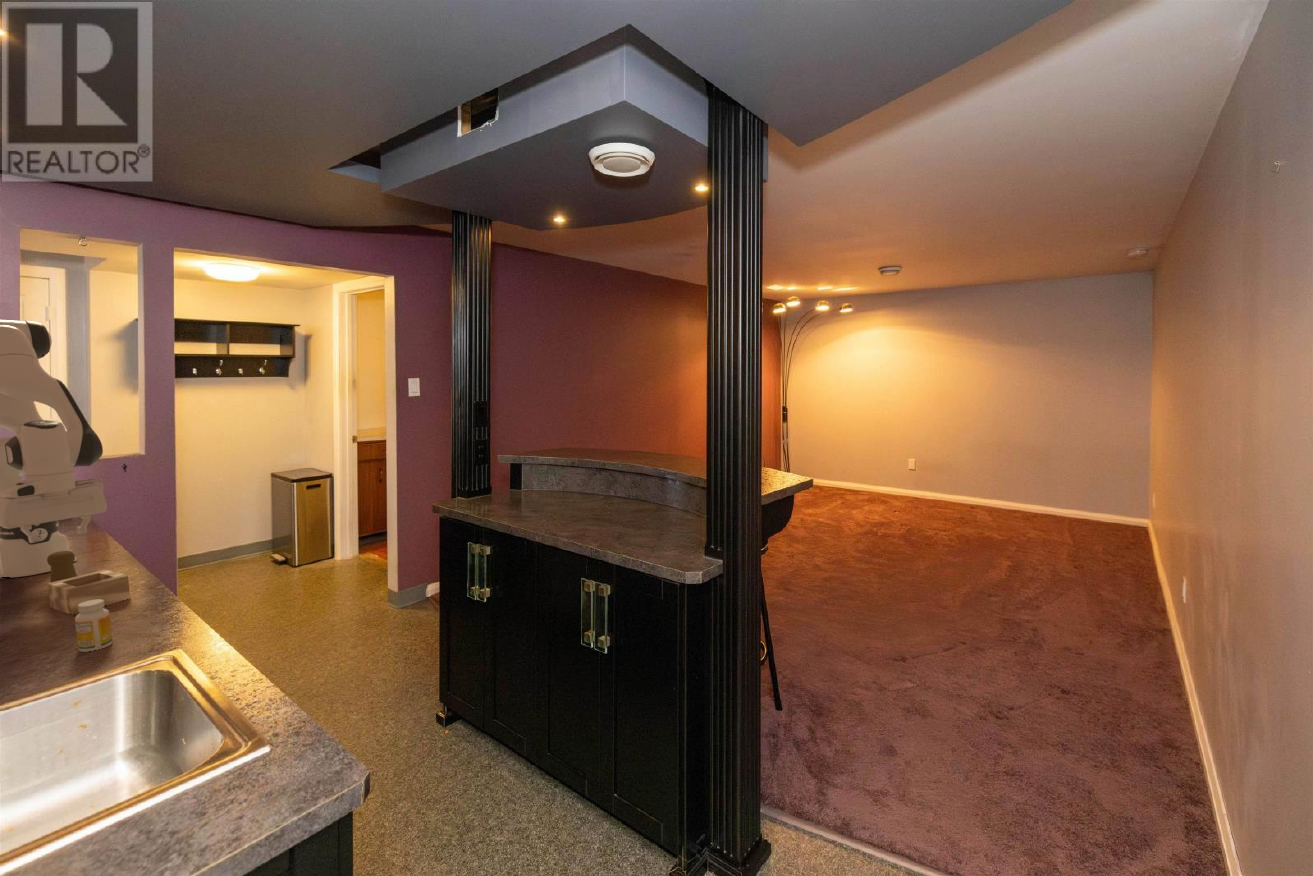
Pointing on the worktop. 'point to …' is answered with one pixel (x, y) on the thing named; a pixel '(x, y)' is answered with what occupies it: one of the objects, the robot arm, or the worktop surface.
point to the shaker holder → (88, 590)
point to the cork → (61, 565)
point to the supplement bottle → (93, 626)
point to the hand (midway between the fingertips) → (59, 537)
